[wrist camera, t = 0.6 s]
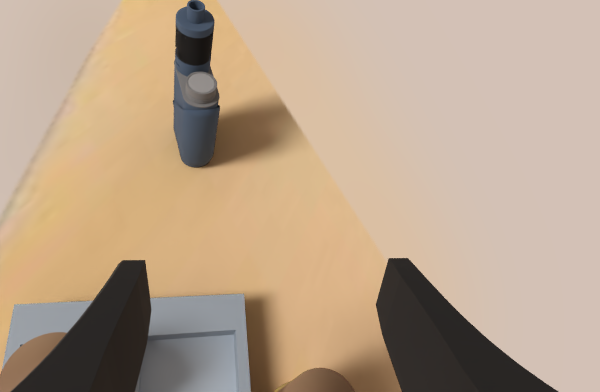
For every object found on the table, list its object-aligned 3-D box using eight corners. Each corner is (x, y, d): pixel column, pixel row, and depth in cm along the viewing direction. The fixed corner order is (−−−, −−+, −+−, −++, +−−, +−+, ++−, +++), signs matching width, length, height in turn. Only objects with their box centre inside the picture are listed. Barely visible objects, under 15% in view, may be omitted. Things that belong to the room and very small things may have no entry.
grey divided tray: (250, 475, 26) (256, 475, 24) (-11, 516, 22) (-27, 520, 20) (239, 304, 31) (243, 293, 29) (24, 315, 27) (14, 304, 25)
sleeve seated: (112, 435, 24) (98, 426, 19) (22, 446, 23) (-17, 439, 18) (118, 353, 26) (106, 325, 21) (36, 359, 25) (3, 332, 20)
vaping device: (201, 117, 38) (212, -8, 28) (215, 168, 36) (233, 51, 26) (170, 119, 37) (170, -9, 27) (182, 172, 35) (187, 53, 25)
